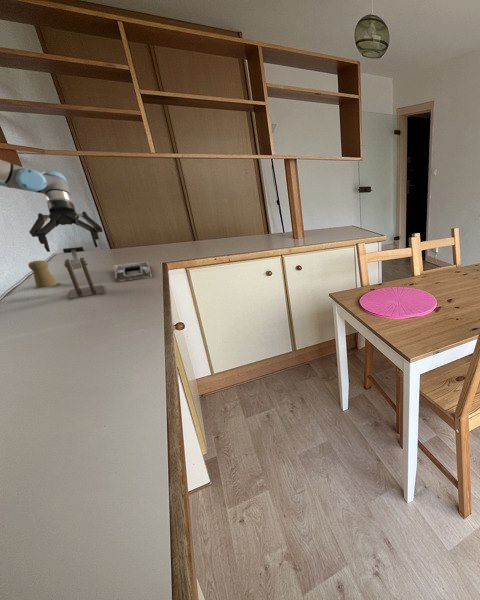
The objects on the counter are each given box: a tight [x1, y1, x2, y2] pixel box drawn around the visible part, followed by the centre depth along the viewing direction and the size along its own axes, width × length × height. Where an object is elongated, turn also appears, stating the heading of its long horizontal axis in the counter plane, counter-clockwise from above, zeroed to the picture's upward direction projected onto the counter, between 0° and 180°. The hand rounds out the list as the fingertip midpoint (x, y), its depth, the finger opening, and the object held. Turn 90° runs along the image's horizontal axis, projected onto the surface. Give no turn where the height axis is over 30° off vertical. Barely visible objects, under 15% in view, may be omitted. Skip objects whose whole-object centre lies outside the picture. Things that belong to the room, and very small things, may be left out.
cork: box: [27, 260, 58, 289], centre depth 126 cm, size 6×6×11 cm
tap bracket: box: [63, 257, 103, 300], centre depth 119 cm, size 12×9×14 cm
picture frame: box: [112, 261, 152, 282], centre depth 145 cm, size 13×25×3 cm, turn 41°
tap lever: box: [62, 246, 85, 270], centre depth 120 cm, size 13×6×2 cm, turn 42°
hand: (72, 247), depth 123 cm, fingers open, 13 cm apart
